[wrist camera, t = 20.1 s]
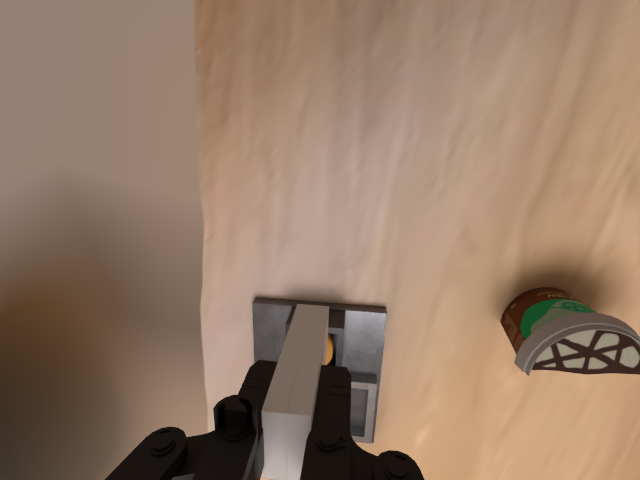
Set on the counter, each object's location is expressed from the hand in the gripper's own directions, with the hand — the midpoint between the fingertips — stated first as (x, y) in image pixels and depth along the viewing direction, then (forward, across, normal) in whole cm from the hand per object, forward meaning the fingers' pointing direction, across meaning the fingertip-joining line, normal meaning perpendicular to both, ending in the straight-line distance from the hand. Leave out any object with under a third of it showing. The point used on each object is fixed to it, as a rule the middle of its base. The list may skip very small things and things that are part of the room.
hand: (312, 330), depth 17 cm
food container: (+27, +25, -10) cm, 38 cm away
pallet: (+26, -2, -24) cm, 35 cm away
